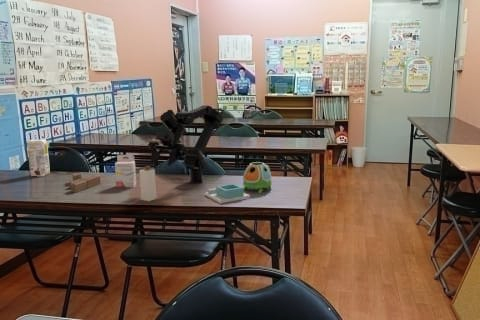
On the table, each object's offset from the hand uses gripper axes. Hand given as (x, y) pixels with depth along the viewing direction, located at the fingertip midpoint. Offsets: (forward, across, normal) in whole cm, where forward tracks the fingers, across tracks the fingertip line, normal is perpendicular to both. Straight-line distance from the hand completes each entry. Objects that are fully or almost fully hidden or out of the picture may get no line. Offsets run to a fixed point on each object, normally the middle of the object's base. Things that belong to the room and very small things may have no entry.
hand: (159, 164), depth 187 cm
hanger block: (+15, 0, +4) cm, 15 cm away
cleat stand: (+2, +28, +17) cm, 32 cm away
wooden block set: (+15, -46, +4) cm, 49 cm away
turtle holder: (-10, +33, +29) cm, 45 cm away
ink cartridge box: (+7, -24, +12) cm, 28 cm away
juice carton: (+9, -84, +10) cm, 85 cm away
